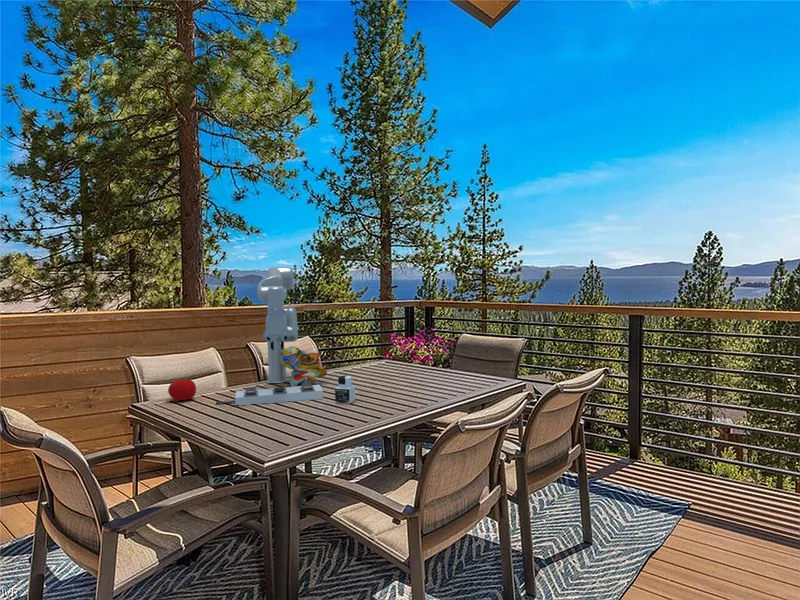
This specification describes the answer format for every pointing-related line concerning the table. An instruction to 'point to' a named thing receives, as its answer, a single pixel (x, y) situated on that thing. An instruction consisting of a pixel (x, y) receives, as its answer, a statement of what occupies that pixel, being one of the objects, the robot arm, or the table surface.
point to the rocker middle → (279, 389)
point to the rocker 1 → (250, 390)
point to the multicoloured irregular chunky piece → (302, 365)
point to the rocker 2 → (307, 386)
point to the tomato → (182, 389)
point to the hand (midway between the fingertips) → (277, 349)
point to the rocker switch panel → (277, 395)
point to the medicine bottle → (344, 390)
